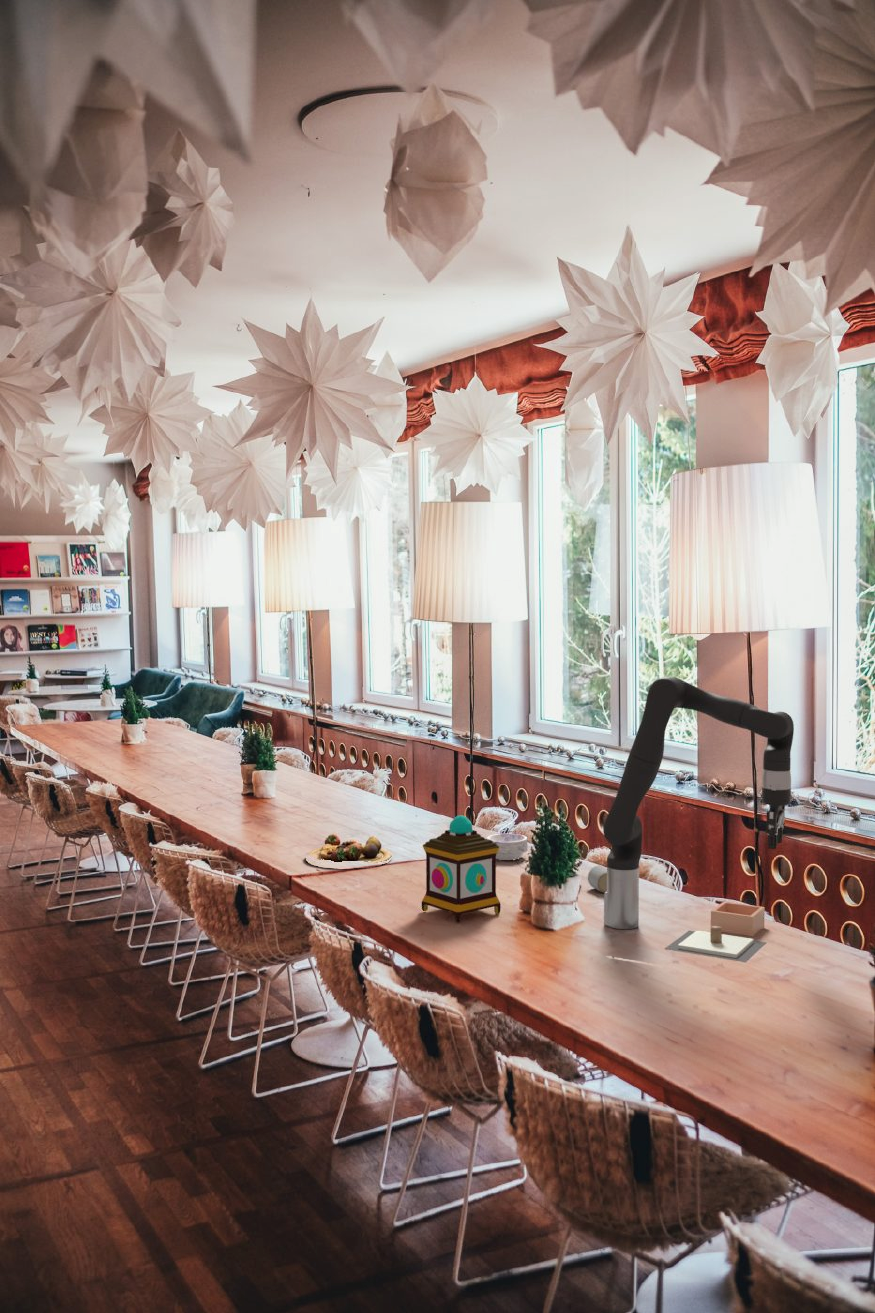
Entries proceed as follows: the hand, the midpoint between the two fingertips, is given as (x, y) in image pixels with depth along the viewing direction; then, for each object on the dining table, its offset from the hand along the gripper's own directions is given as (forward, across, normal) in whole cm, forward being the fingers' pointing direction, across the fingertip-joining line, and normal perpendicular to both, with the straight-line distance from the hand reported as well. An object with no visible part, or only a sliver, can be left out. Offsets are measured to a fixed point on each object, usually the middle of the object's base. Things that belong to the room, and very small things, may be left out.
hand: (775, 845), depth 303 cm
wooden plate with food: (+30, -43, -159) cm, 168 cm away
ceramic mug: (+29, -41, -60) cm, 78 cm away
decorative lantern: (+29, +5, -91) cm, 96 cm away
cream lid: (+28, +6, -14) cm, 32 cm away
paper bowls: (+30, -70, -108) cm, 132 cm away
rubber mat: (+28, +6, -14) cm, 32 cm away
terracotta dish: (+28, -14, -12) cm, 34 cm away
